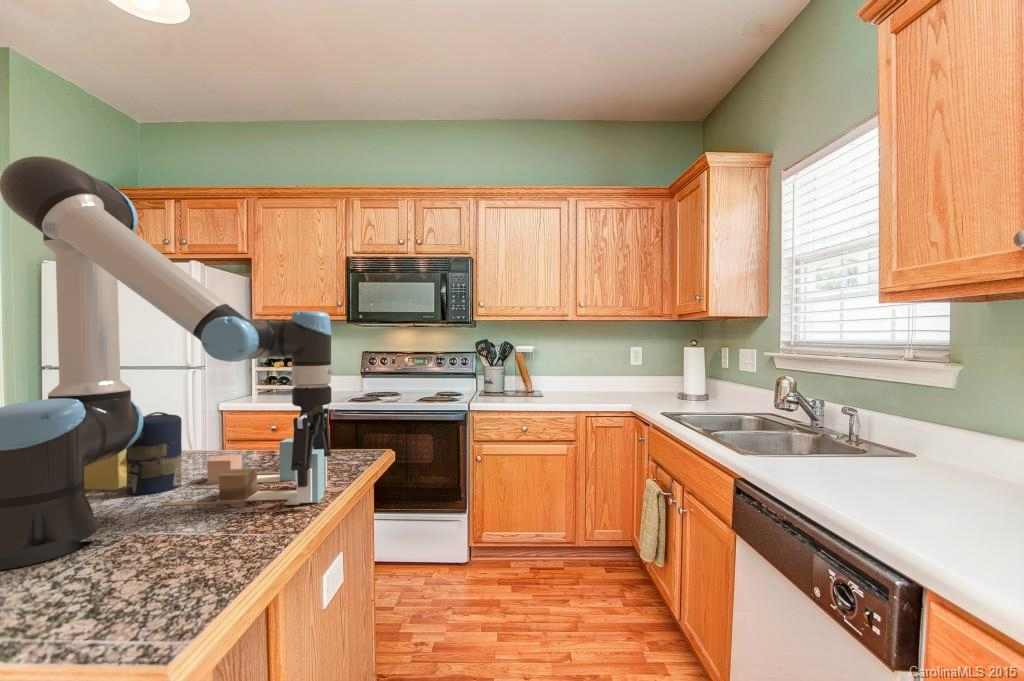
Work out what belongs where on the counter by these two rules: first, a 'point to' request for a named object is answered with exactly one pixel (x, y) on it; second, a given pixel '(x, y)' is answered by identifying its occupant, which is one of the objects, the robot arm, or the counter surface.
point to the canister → (155, 456)
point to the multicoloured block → (291, 495)
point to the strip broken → (281, 465)
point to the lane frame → (215, 501)
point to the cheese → (106, 473)
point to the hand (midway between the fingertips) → (312, 494)
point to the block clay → (222, 466)
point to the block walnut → (237, 484)
